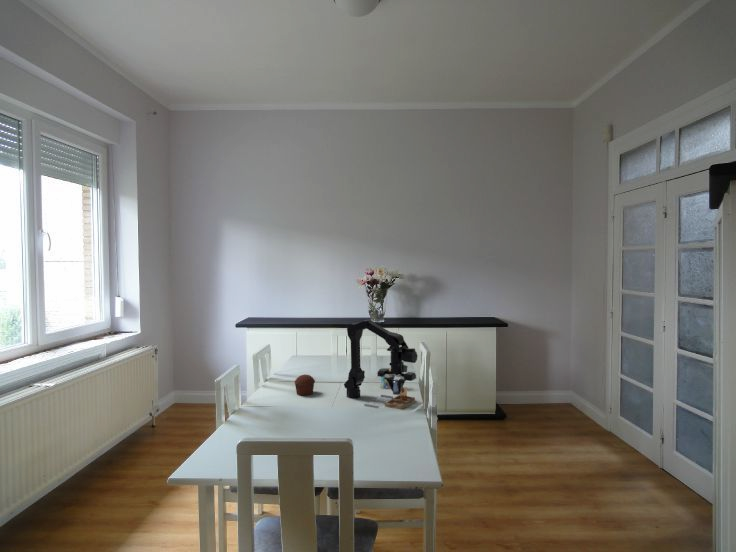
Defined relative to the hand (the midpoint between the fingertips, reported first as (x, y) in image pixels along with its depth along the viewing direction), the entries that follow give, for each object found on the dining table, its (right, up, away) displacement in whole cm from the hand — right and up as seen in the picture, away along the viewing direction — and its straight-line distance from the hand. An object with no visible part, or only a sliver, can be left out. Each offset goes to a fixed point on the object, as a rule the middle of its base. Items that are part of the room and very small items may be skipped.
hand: (396, 391), depth 225 cm
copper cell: (+4, -6, +7) cm, 10 cm away
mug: (-3, -7, +32) cm, 33 cm away
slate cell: (0, -1, 0) cm, 1 cm away
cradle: (-9, -8, +6) cm, 13 cm away
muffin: (-49, -7, +25) cm, 55 cm away
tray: (+2, -8, +4) cm, 9 cm away
